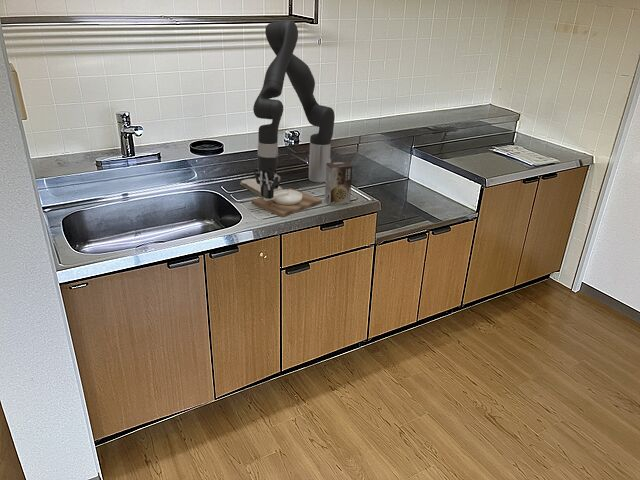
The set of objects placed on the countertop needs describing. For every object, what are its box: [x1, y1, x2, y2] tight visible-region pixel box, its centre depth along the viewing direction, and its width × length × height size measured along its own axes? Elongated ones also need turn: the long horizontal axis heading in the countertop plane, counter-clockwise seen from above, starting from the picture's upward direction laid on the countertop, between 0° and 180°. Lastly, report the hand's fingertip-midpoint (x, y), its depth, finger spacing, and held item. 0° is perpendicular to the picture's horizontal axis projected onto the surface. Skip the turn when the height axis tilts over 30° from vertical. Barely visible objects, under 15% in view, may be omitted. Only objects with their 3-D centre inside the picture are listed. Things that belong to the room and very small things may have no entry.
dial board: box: [250, 187, 323, 218], centre depth 209 cm, size 22×18×2 cm
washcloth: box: [239, 177, 284, 197], centre depth 224 cm, size 12×18×3 cm, turn 39°
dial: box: [262, 183, 302, 205], centre depth 205 cm, size 18×12×8 cm
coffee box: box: [324, 161, 353, 206], centre depth 211 cm, size 9×6×16 cm
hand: (267, 196), depth 201 cm, fingers closed on dial, 3 cm apart
